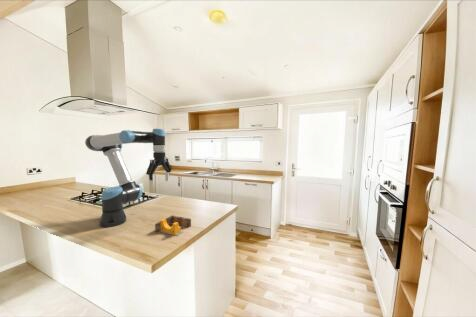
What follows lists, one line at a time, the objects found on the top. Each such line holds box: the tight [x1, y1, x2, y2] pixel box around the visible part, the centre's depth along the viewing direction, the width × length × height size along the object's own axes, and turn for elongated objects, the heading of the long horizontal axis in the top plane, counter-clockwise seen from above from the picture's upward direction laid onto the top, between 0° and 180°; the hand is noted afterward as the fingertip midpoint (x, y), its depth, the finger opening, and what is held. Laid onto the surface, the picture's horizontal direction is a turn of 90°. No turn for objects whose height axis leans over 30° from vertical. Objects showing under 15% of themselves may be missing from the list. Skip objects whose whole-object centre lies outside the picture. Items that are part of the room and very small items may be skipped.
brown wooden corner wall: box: [154, 215, 192, 233], centre depth 117 cm, size 15×15×5 cm
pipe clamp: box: [160, 218, 182, 236], centre depth 113 cm, size 12×4×6 cm, turn 63°
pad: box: [159, 230, 183, 236], centre depth 113 cm, size 13×5×1 cm, turn 68°
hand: (160, 183), depth 127 cm, fingers open, 13 cm apart
